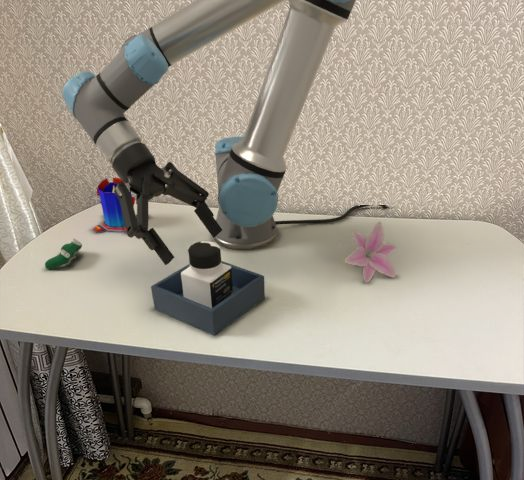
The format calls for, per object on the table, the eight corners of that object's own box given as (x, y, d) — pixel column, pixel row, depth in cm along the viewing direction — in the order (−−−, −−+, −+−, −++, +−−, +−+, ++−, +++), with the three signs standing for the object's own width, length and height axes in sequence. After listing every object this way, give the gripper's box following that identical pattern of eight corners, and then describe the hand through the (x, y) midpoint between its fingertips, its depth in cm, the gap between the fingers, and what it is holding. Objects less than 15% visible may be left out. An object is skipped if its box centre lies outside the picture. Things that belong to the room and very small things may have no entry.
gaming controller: (55, 277, 126) (69, 262, 122) (41, 266, 124) (54, 250, 121) (74, 258, 133) (87, 243, 129) (61, 247, 132) (74, 232, 128)
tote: (206, 276, 121) (204, 254, 118) (264, 298, 113) (264, 275, 110) (154, 309, 111) (150, 286, 108) (214, 335, 103) (212, 311, 100)
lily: (333, 285, 119) (352, 258, 111) (335, 242, 125) (352, 213, 116) (385, 298, 121) (407, 272, 113) (384, 255, 127) (405, 228, 119)
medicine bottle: (213, 314, 108) (208, 258, 100) (183, 304, 111) (176, 249, 103) (234, 297, 112) (230, 242, 105) (205, 288, 115) (200, 234, 108)
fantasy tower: (90, 232, 140) (79, 185, 133) (107, 213, 149) (98, 168, 142) (135, 234, 138) (127, 187, 131) (149, 214, 148) (143, 169, 140)
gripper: (165, 147, 115) (226, 232, 117) (66, 185, 100) (139, 283, 101) (181, 124, 110) (245, 214, 111) (79, 160, 94) (156, 264, 96)
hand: (195, 247), depth 106 cm, fingers open, 13 cm apart
